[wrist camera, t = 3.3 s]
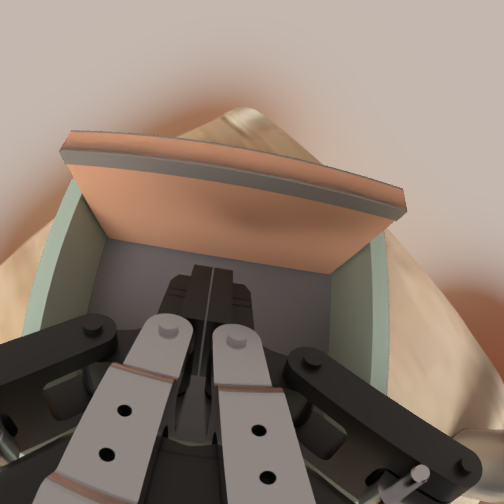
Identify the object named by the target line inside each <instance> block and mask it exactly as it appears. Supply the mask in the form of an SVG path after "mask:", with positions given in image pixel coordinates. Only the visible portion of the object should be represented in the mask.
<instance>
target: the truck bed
mask: <svg viewBox="0 0 504 504" xmlns="http://www.w3.org/2000/svg"><path fill="white" fill-rule="evenodd" d="M194 264H197V265H203V266H209V267H213V270H212V276H211V283H210V289H209V296H208V303H207V310H206V317H205V324H204V331H203V338H202V345H201V352H200V360H199V368H198V375H197V376H194V375H191V380H190V385H189V387H188V389H187V396H186V400H185V404H184V408H183V412H182V416H181V420H180V424H179V428H178V432H177V437H176V442H178V443H181V444H184V445H187V446H202V445H204V406H203V396H204V388H205V379H206V377H201V376H200V368H201V359H202V351H203V344H204V336H205V328H206V321H207V314H208V307H209V300H210V293H211V287H212V280H213V274H214V268H215V267H216V268H222V269H228V270H233V283H237V284H244V285H245V286H246V287H247V288H248V289H249V291H250V292H251V299H252V301H251V302H252V310H253V320H254V330H255V332H256V333H257V334H258V335H259V337H260V339H261V342H262V345H263V346H264V347H266V348H268V349H270V350H272V351H274V352H277V353H280V354H283V355H286V356H288V355H289V353H290V352H291V351H292V350H294V349H296V348H299V347H311V348H315V349H318V350H320V351H322V352H324V353H326V354H327V355H328V356H330V357H331V358H333V359H334V360H335V361H337V362H338V363H340V364H341V365H343V366H344V367H345V368H347V369H348V370H350V371H351V372H352V373H354V374H355V375H357V376H358V377H360V378H361V379H363V380H364V381H365V382H367V383H368V384H370V385H371V386H373V387H374V388H376V389H377V390H379V391H380V392H382V393H383V394H385V395H386V396H387V387H388V371H389V344H390V311H389V283H388V266H387V253H386V242H385V233H384V232H381V233H380V234H379V235H377V236H376V237H375V238H374V239H373V240H372V241H370V242H369V243H368V244H367V245H366V246H364V247H363V248H362V249H361V250H359V251H358V252H357V253H356V254H355V255H353V256H352V257H351V258H350V259H348V260H347V261H346V262H345V263H343V264H342V265H341V266H340V267H338V268H337V269H336V270H335V271H333V272H332V273H331V274H323V273H316V272H310V271H303V270H297V269H291V268H284V267H278V266H272V265H266V264H259V263H253V262H247V261H241V260H235V259H229V258H222V257H216V256H210V255H204V254H198V253H192V252H186V251H180V250H174V249H169V248H163V247H157V246H151V245H145V244H139V243H134V242H128V241H122V240H116V239H111V238H108V236H107V235H106V233H105V232H104V230H103V228H102V227H101V225H100V223H99V222H98V220H97V218H96V217H95V215H94V213H93V211H92V210H91V208H90V206H89V204H88V203H87V201H86V199H85V197H84V196H83V194H82V192H81V190H80V188H79V186H78V185H77V183H76V181H75V179H72V181H71V183H70V185H69V187H68V189H67V191H66V194H65V196H64V198H63V200H62V203H61V205H60V207H59V210H58V212H57V215H56V217H55V220H54V222H53V225H52V228H51V230H50V233H49V236H48V239H47V241H46V244H45V247H44V250H43V253H42V256H41V259H40V263H39V266H38V269H37V273H36V276H35V280H34V283H33V287H32V291H31V295H30V299H29V303H28V307H27V312H26V317H25V322H24V327H23V332H22V337H23V336H25V335H28V334H31V333H34V332H37V331H39V330H42V329H45V328H48V327H51V326H53V325H56V324H59V323H62V322H65V321H67V320H70V319H73V318H76V317H79V316H81V315H85V314H91V313H96V314H102V315H105V316H108V317H109V318H111V319H112V320H113V321H114V322H115V324H116V326H117V330H135V329H140V328H143V326H144V324H145V322H146V321H147V320H148V319H149V318H150V317H152V316H154V315H157V313H158V310H159V308H160V305H161V303H162V300H163V298H164V295H165V293H166V290H167V288H168V285H169V283H170V281H171V279H172V278H174V277H175V276H177V275H178V274H181V275H187V276H191V274H192V270H193V267H194ZM77 375H80V371H79V370H77V371H75V372H72V373H70V374H68V375H65V376H63V377H61V378H59V379H56V380H54V381H52V382H50V383H48V384H47V385H46V386H45V387H44V389H43V390H45V389H48V388H50V387H53V386H55V385H57V384H59V383H62V382H64V381H66V380H69V379H71V378H73V377H75V376H77ZM314 410H315V411H316V412H317V413H318V414H320V415H321V416H322V417H323V418H325V419H326V420H327V421H328V422H330V423H331V424H332V425H334V426H335V427H336V428H338V429H339V430H340V431H342V432H343V433H344V434H346V435H347V433H346V431H345V429H344V428H343V427H342V426H341V425H340V424H338V423H337V422H336V421H334V420H333V419H332V418H330V417H329V416H328V415H327V414H325V413H324V412H323V411H321V410H320V409H319V408H318V407H315V409H314ZM76 428H77V426H76V427H74V428H72V429H70V430H68V431H66V432H64V433H62V434H60V435H58V436H56V437H54V438H52V439H50V440H48V441H45V442H43V443H41V444H39V445H37V446H35V447H32V448H30V449H28V450H26V451H23V452H21V453H20V455H19V458H20V457H22V456H24V455H26V454H28V453H30V452H32V451H34V450H36V449H38V448H40V447H42V446H44V445H46V444H48V443H50V442H52V441H54V440H56V439H57V438H59V437H61V436H64V435H66V434H69V433H72V432H75V430H76ZM303 460H304V464H305V465H306V466H308V467H310V468H311V469H313V470H314V471H316V472H317V473H318V474H320V475H321V476H322V477H323V478H324V479H326V480H327V481H328V482H329V483H330V484H332V485H333V486H334V487H335V488H336V489H338V490H339V491H340V492H341V493H343V494H344V495H345V496H347V497H348V498H349V499H350V500H352V501H353V502H354V503H356V504H358V502H359V500H358V499H356V498H355V497H354V496H352V495H351V494H349V493H348V492H347V491H345V490H344V489H343V488H341V487H340V486H339V485H337V484H336V483H335V482H333V481H332V480H331V479H329V478H328V477H327V476H325V475H324V474H323V473H322V472H320V471H319V470H318V469H317V468H315V467H314V466H313V465H312V464H311V463H309V462H308V461H307V460H306V459H305V458H303Z"/></svg>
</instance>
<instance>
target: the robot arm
mask: <svg viewBox="0 0 504 504" xmlns="http://www.w3.org/2000/svg"><path fill="white" fill-rule="evenodd" d="M212 270H213V267H209V266H203V265H197V264H194V267H193V270H192V274H191V276H187V275H181V274H178V275H177V276H175V277H174V278H172V279H171V281H170V283H169V285H168V288H167V290H166V293H165V295H164V298H163V300H162V303H161V305H160V308H159V310H158V313H157V315H154V316H152V317H150V318H149V319H148V320H147V321H146V322H145V324H144V326H143V328H140V329H135V330H117V326H116V324H115V322H114V321H113V320H112V319H111V318H109V317H108V316H105V315H102V314H96V313H91V314H85V315H81V316H79V317H76V318H73V319H70V320H67V321H65V322H62V323H59V324H56V325H53V326H51V327H48V328H45V329H42V330H39V331H37V332H34V333H31V334H28V335H25V336H23V337H20V338H17V339H14V340H11V341H8V342H6V343H3V344H0V504H356V503H354V502H353V501H352V500H350V499H349V498H348V497H347V496H345V495H344V494H343V493H341V492H340V491H339V490H338V489H336V488H335V487H334V486H333V485H332V484H330V483H329V482H328V481H327V480H326V479H324V478H323V477H322V476H321V475H320V474H318V473H317V472H316V471H314V470H313V469H311V468H310V467H308V466H306V465H305V464H304V460H303V458H305V459H306V460H307V461H308V462H309V463H311V464H312V465H313V466H314V467H315V468H317V469H318V470H319V471H320V472H322V473H323V474H324V475H325V476H327V477H328V478H329V479H331V480H332V481H333V482H335V483H336V484H337V485H339V486H340V487H341V488H343V489H344V490H345V491H347V492H348V493H349V494H351V495H352V496H354V497H355V498H356V499H358V500H359V502H358V504H451V502H452V501H454V500H455V499H456V498H458V497H459V496H463V497H468V498H472V499H476V500H481V501H486V502H491V503H496V504H504V430H490V429H465V430H462V431H460V432H459V433H457V434H456V435H455V436H454V437H453V438H451V437H449V436H448V435H446V434H444V433H443V432H441V431H440V430H438V429H437V428H435V427H433V426H432V425H430V424H429V423H427V422H426V421H424V420H422V419H421V418H419V417H418V416H416V415H415V414H413V413H412V412H410V411H409V410H407V409H406V408H404V407H403V406H401V405H399V404H398V403H396V402H395V401H393V400H392V399H390V398H389V397H388V396H386V395H385V394H383V393H382V392H380V391H379V390H377V389H376V388H374V387H373V386H371V385H370V384H368V383H367V382H365V381H364V380H363V379H361V378H360V377H358V376H357V375H355V374H354V373H352V372H351V371H350V370H348V369H347V368H345V367H344V366H343V365H341V364H340V363H338V362H337V361H335V360H334V359H333V358H331V357H330V356H328V355H327V354H326V353H324V352H322V351H320V350H318V349H315V348H311V347H299V348H296V349H294V350H292V351H291V352H290V353H289V355H288V356H286V355H283V354H280V353H277V352H274V351H272V350H270V349H268V348H266V347H264V346H263V345H262V342H261V339H260V337H259V335H258V334H257V333H256V332H255V330H254V320H253V310H252V302H251V301H252V299H251V292H250V291H249V289H248V288H247V287H246V286H245V285H244V284H237V283H233V270H228V269H222V268H216V267H215V268H214V274H213V280H212V287H211V293H210V300H209V307H208V314H207V321H206V328H205V336H204V344H203V351H202V359H201V368H200V376H201V377H206V379H205V388H204V396H203V406H204V445H202V446H187V445H184V444H181V443H178V442H176V437H177V432H178V428H179V424H180V420H181V416H182V412H183V408H184V404H185V400H186V396H187V389H188V387H189V385H190V380H191V375H194V376H197V375H198V368H199V360H200V352H201V345H202V338H203V331H204V324H205V317H206V310H207V303H208V296H209V289H210V283H211V276H212ZM77 370H79V371H80V375H77V376H75V377H73V378H71V379H69V380H66V381H64V382H62V383H59V384H57V385H55V386H53V387H50V388H48V389H45V390H43V389H44V387H45V386H46V385H47V384H48V383H50V382H52V381H54V380H56V379H59V378H61V377H63V376H65V375H68V374H70V373H72V372H75V371H77ZM315 407H318V408H319V409H320V410H321V411H323V412H324V413H325V414H327V415H328V416H329V417H330V418H332V419H333V420H334V421H336V422H337V423H338V424H340V425H341V426H342V427H343V428H344V429H345V431H346V433H347V435H346V434H344V433H343V432H342V431H340V430H339V429H338V428H336V427H335V426H334V425H332V424H331V423H330V422H328V421H327V420H326V419H325V418H323V417H322V416H321V415H320V414H318V413H317V412H316V411H315V410H314V409H315ZM76 426H77V428H76V430H75V432H72V433H69V434H66V435H64V436H61V437H59V438H57V439H56V440H54V441H52V442H50V443H48V444H46V445H44V446H42V447H40V448H38V449H36V450H34V451H32V452H30V453H28V454H26V455H24V456H22V457H20V458H19V455H20V453H21V452H23V451H26V450H28V449H30V448H32V447H35V446H37V445H39V444H41V443H43V442H45V441H48V440H50V439H52V438H54V437H56V436H58V435H60V434H62V433H64V432H66V431H68V430H70V429H72V428H74V427H76Z"/></svg>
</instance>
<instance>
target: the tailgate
mask: <svg viewBox="0 0 504 504" xmlns="http://www.w3.org/2000/svg"><path fill="white" fill-rule="evenodd" d="M59 152H60V154H61V157H62V159H63V160H64V162H65V164H67V165H68V167H69V169H70V171H71V173H72V175H73V177H74V179H75V181H76V183H77V185H78V186H79V188H80V190H81V192H82V194H83V196H84V197H85V199H86V201H87V203H88V204H89V206H90V208H91V210H92V211H93V213H94V215H95V217H96V218H97V220H98V222H99V223H100V225H101V227H102V228H103V230H104V232H105V233H106V235H107V236H108V238H111V239H116V240H122V241H128V242H134V243H139V244H145V245H151V246H157V247H163V248H169V249H174V250H180V251H186V252H192V253H198V254H204V255H210V256H216V257H222V258H229V259H235V260H241V261H247V262H253V263H259V264H266V265H272V266H278V267H284V268H291V269H297V270H303V271H310V272H316V273H323V274H331V273H332V272H333V271H335V270H336V269H337V268H338V267H340V266H341V265H342V264H343V263H345V262H346V261H347V260H348V259H350V258H351V257H352V256H353V255H355V254H356V253H357V252H358V251H359V250H361V249H362V248H363V247H364V246H366V245H367V244H368V243H369V242H370V241H372V240H373V239H374V238H375V237H376V236H377V235H379V234H380V233H381V232H382V231H383V230H385V229H386V228H387V227H388V226H389V225H390V224H392V223H393V222H394V221H397V220H398V219H399V218H401V217H402V216H403V215H404V214H405V213H406V212H407V207H406V202H405V197H404V192H403V189H402V188H399V187H396V186H393V185H390V184H387V183H384V182H381V181H377V180H374V179H371V178H367V177H364V176H361V175H357V174H354V173H350V172H347V171H343V170H340V169H336V168H332V167H328V166H324V165H320V164H316V163H312V162H308V161H304V160H300V159H296V158H291V157H287V156H282V155H277V154H273V153H268V152H263V151H258V150H253V149H247V148H242V147H236V146H230V145H224V144H218V143H212V142H205V141H198V140H191V139H183V138H175V137H166V136H156V135H146V134H134V133H121V132H103V131H71V132H70V134H69V135H68V137H67V139H66V140H65V142H64V144H63V145H62V147H61V149H60V150H59Z"/></svg>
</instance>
